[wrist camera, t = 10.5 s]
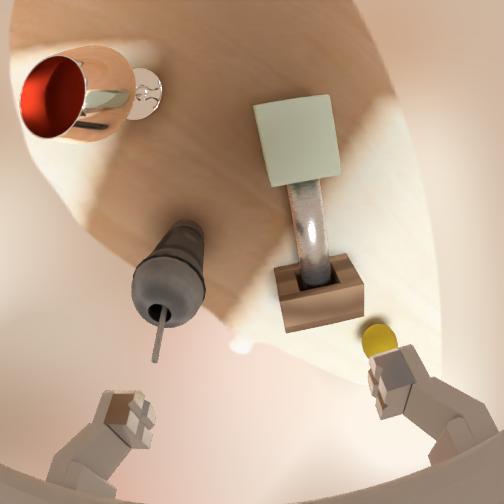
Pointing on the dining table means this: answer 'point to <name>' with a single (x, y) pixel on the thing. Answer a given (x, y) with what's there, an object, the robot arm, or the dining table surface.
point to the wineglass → (86, 95)
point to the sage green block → (298, 139)
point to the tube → (310, 233)
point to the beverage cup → (171, 280)
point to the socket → (320, 296)
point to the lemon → (378, 340)
